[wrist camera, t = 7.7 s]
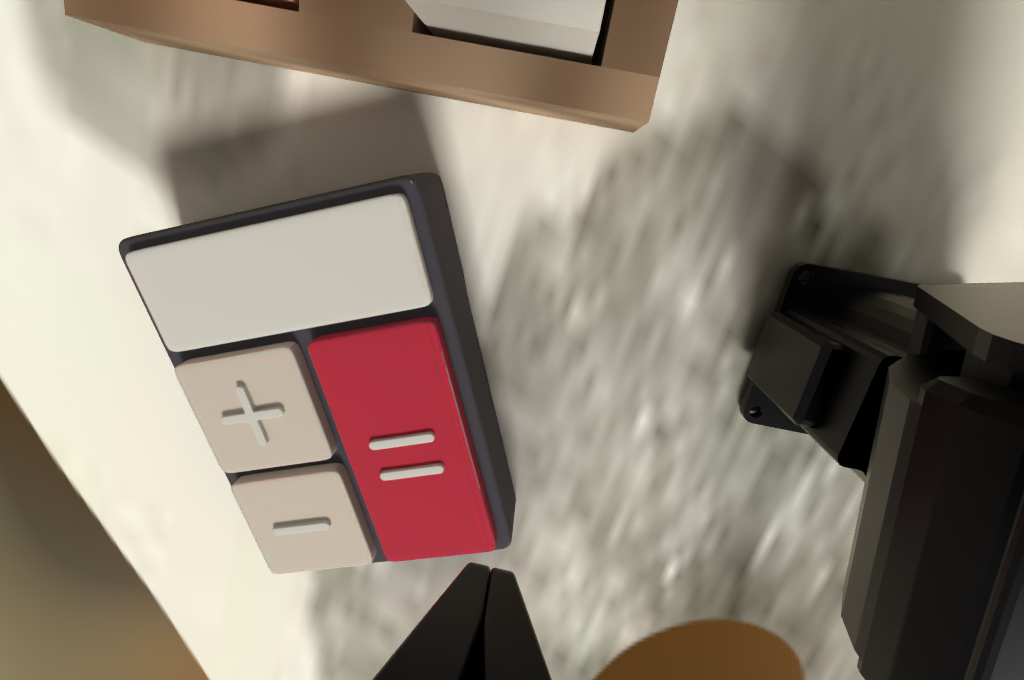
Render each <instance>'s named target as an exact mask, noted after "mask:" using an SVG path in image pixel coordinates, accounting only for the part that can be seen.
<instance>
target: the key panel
mask: <svg viewBox="0 0 1024 680" xmlns="http://www.w3.org/2000/svg"><path fill="white" fill-rule="evenodd" d="M677 4H678V0H611V5H610V10H609V14H608V19H607V24H606V29H605V34H604V38H603V43H602V48H601V53H600V58H599V63H598V66H595V65H590V64H584V63H579V62H573V61H568V60H562V59H556V58H551V57H545V56H540V55H534V54H529V53H523V52H518V51H512V50H507V49H501V48H496V47H490V46H485V45H479V44H474V43H468V42H463V41H457V40H452V39H446V38H441V37H435V36H434V35H433V34H432V33H431V31H430V30H429V29H428V28H427V27H426V25H425V24H424V23H423V22H422V20H421V19H420V18H419V17H418V15H417V14H416V13H415V12H414V11H413V9H412V8H411V7H410V6H409V4H408V3H407V2H406V1H405V0H299V12H297V11H292V10H286V9H281V8H275V7H270V6H264V5H259V4H253V3H247V2H242V1H236V0H64V7H65V15H67V16H70V17H73V18H76V19H79V20H82V21H85V22H88V23H90V24H93V25H96V26H99V27H102V28H105V29H108V30H111V31H113V32H116V33H119V34H122V35H125V36H128V37H131V38H134V39H137V40H139V41H142V42H146V43H152V44H157V45H162V46H168V47H173V48H179V49H184V50H189V51H195V52H200V53H206V54H211V55H217V56H222V57H227V58H233V59H238V60H244V61H249V62H255V63H260V64H265V65H271V66H276V67H282V68H287V69H292V70H298V71H303V72H309V73H314V74H320V75H325V76H330V77H336V78H341V79H347V80H352V81H358V82H363V83H368V84H374V85H379V86H385V87H390V88H395V89H401V90H406V91H412V92H417V93H423V94H428V95H433V96H439V97H444V98H450V99H455V100H461V101H466V102H471V103H477V104H482V105H488V106H493V107H498V108H504V109H509V110H515V111H520V112H526V113H531V114H536V115H542V116H547V117H553V118H558V119H564V120H569V121H574V122H580V123H585V124H591V125H596V126H601V127H607V128H612V129H618V130H623V131H629V132H634V131H636V130H637V129H639V128H640V127H642V126H643V125H645V124H646V123H648V122H649V118H650V114H651V110H652V106H653V102H654V97H655V93H656V89H657V85H658V81H659V77H660V73H661V69H662V65H663V61H664V57H665V53H666V49H667V44H668V40H669V36H670V32H671V28H672V24H673V20H674V16H675V12H676V8H677Z"/></svg>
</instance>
